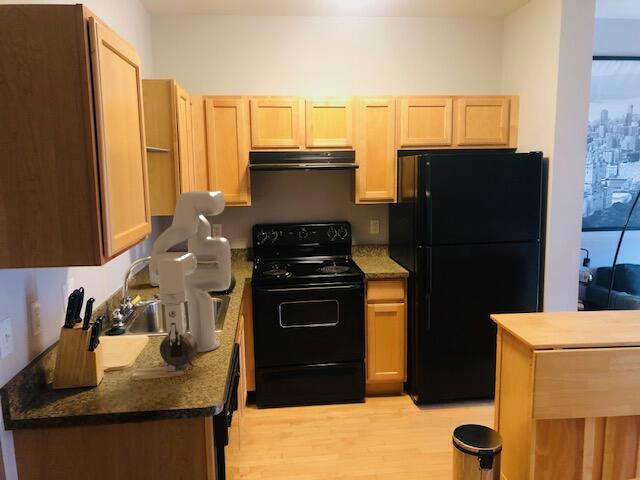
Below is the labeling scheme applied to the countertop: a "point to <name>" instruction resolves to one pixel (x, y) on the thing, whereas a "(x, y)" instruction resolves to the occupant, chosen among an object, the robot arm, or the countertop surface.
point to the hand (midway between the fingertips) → (178, 351)
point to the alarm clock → (187, 351)
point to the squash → (232, 284)
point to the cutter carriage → (169, 367)
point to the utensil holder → (153, 276)
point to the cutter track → (156, 373)
